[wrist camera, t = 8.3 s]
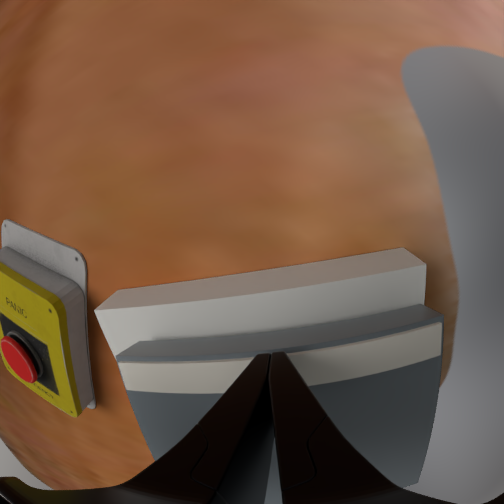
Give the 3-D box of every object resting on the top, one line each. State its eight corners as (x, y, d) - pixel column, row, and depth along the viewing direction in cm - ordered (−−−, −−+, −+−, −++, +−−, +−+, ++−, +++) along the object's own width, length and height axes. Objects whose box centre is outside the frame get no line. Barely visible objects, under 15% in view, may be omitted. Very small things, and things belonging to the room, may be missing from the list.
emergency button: (2, 386, 15) (-36, 228, 10) (27, 362, 19) (7, 214, 14) (78, 441, 15) (43, 278, 10) (99, 407, 19) (92, 250, 14)
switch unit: (373, 470, 18) (379, 501, 14) (218, 484, 20) (212, 513, 16) (402, 247, 12) (441, 275, 8) (117, 289, 14) (79, 322, 10)
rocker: (407, 459, 10) (418, 485, 7) (188, 480, 11) (176, 504, 9) (420, 303, 10) (446, 316, 7) (139, 340, 11) (112, 357, 9)
